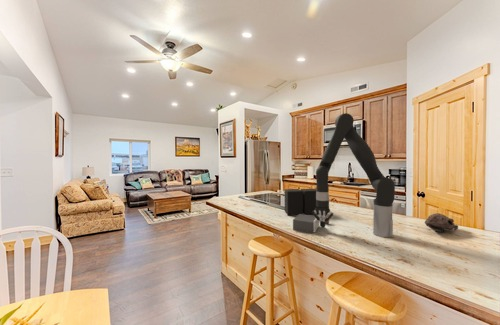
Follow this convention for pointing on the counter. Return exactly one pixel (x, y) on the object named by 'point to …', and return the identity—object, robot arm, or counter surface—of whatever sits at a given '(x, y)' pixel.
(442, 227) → the brown toy animal
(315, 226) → the drawer
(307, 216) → the cylinder
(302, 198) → the speaker
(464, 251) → the counter surface
